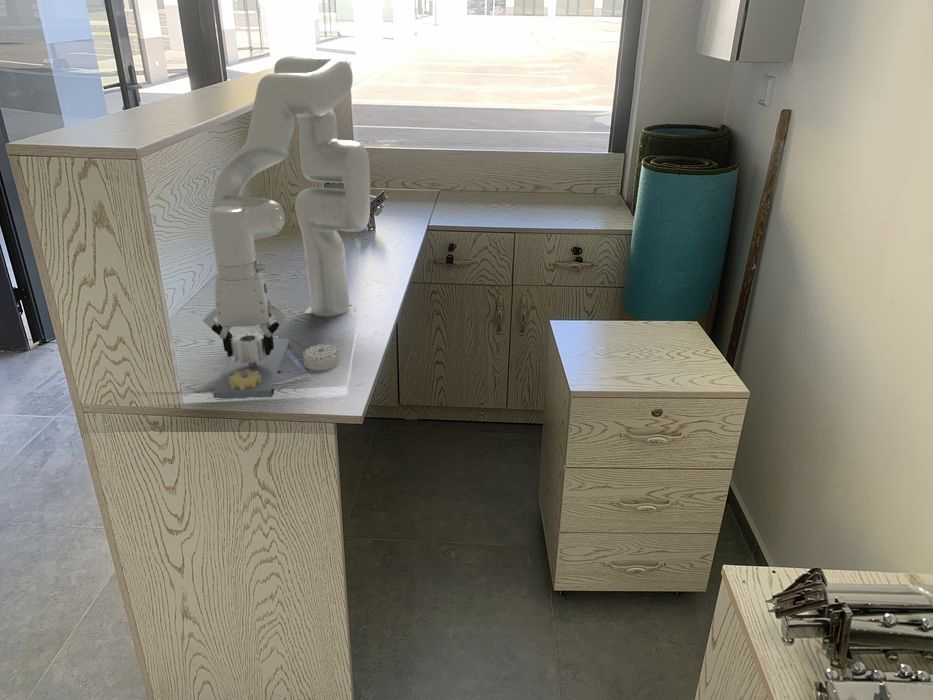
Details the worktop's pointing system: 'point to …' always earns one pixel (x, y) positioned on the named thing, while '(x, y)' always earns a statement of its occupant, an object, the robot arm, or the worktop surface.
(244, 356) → the steel gear
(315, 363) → the mechanical component
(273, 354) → the gear board
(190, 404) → the worktop surface
